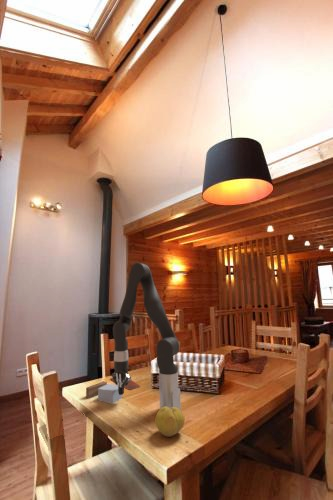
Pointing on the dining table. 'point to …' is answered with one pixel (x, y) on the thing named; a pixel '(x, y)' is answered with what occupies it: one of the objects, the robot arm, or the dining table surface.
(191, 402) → the dining table surface
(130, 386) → the wooden tablet
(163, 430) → the fruit
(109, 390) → the slate brick
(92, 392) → the walnut board
